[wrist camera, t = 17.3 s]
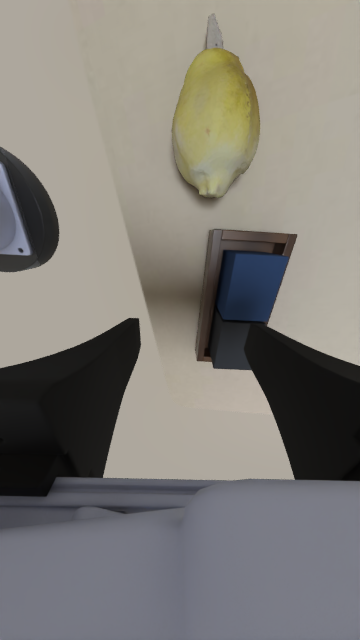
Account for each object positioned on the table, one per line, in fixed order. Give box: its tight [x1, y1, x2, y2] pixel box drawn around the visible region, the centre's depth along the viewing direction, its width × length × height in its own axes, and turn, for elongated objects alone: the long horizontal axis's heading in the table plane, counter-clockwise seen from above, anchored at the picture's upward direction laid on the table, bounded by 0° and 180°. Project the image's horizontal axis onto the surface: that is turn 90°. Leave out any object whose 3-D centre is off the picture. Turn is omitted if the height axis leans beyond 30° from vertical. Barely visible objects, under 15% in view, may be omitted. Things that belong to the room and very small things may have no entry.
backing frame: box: [195, 229, 297, 362], centre depth 19 cm, size 8×15×2 cm, turn 177°
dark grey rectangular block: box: [208, 306, 266, 370], centre depth 19 cm, size 4×6×4 cm
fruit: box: [172, 14, 260, 198], centre depth 11 cm, size 6×6×10 cm
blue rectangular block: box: [215, 250, 289, 322], centre depth 17 cm, size 4×6×4 cm
